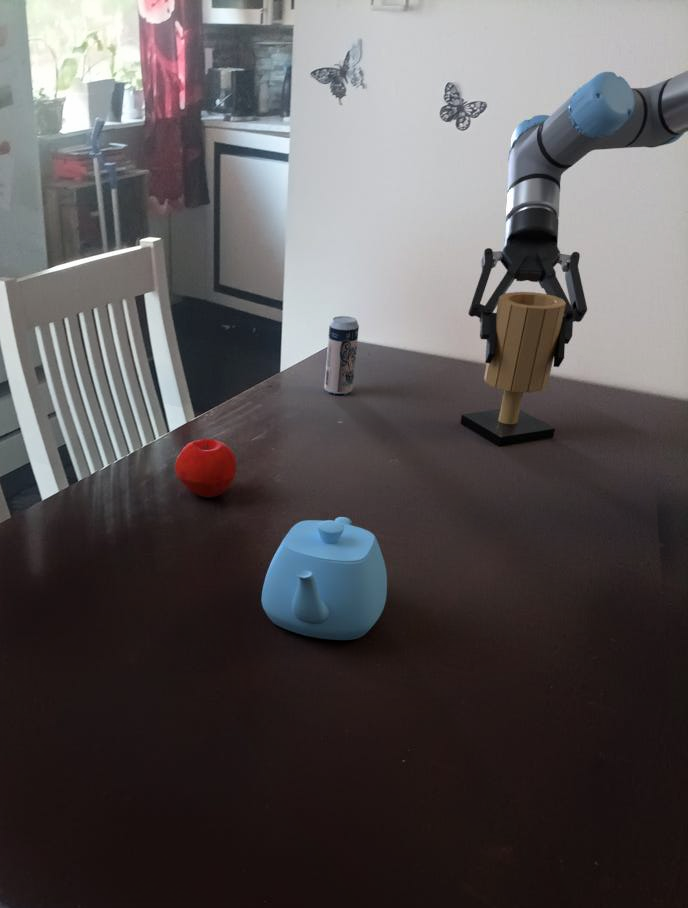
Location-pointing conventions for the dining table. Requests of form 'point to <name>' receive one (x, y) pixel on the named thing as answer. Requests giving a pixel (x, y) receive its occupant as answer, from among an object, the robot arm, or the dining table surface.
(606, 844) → the dining table surface
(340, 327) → the beer can
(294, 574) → the teapot
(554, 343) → the wooden cup
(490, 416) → the peg stand
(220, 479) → the apple
